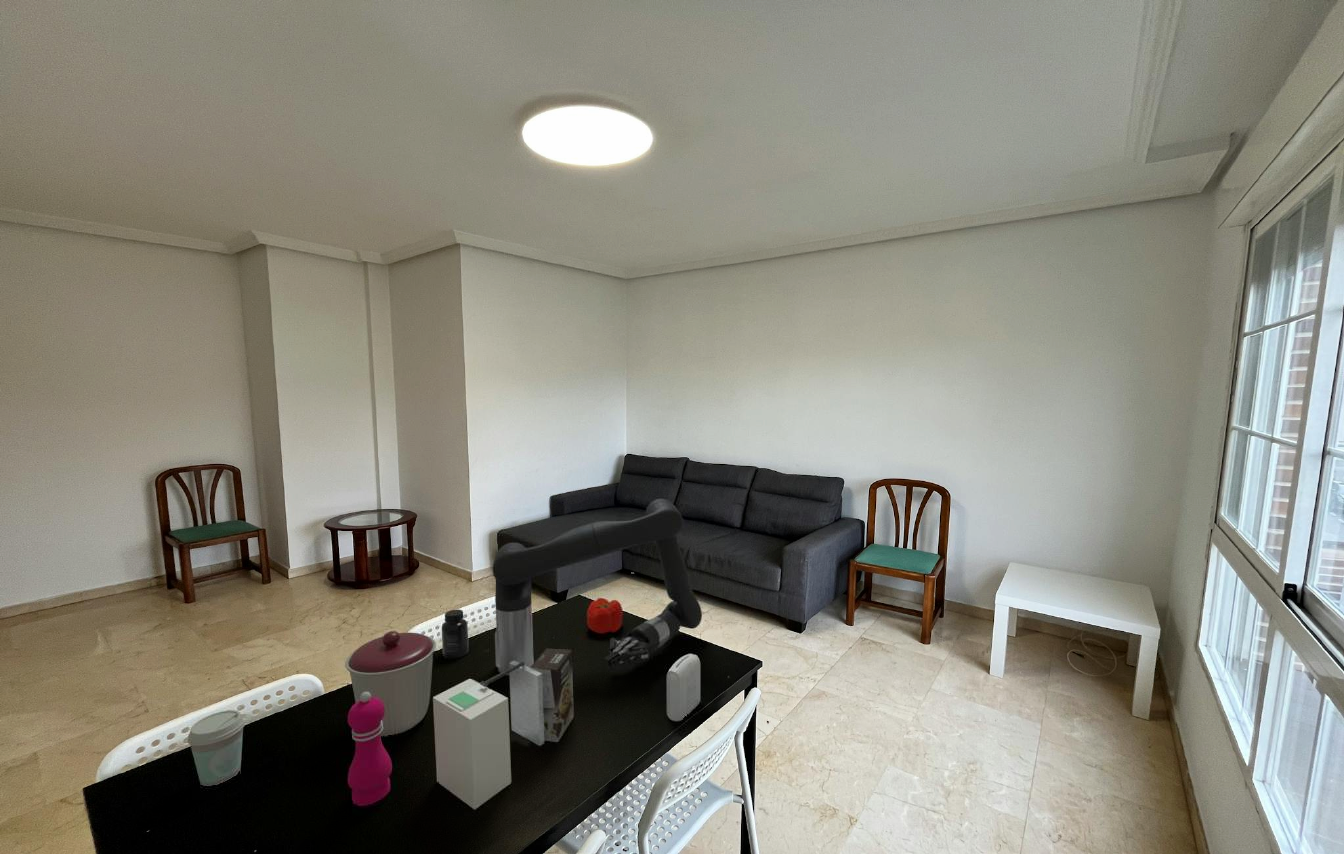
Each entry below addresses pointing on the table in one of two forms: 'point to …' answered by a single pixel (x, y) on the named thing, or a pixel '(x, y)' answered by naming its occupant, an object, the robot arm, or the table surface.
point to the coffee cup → (217, 746)
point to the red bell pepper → (604, 616)
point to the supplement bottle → (455, 635)
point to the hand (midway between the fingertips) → (606, 663)
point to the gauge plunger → (525, 701)
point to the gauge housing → (472, 742)
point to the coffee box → (556, 691)
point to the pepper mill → (368, 752)
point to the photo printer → (683, 687)
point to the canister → (395, 677)
